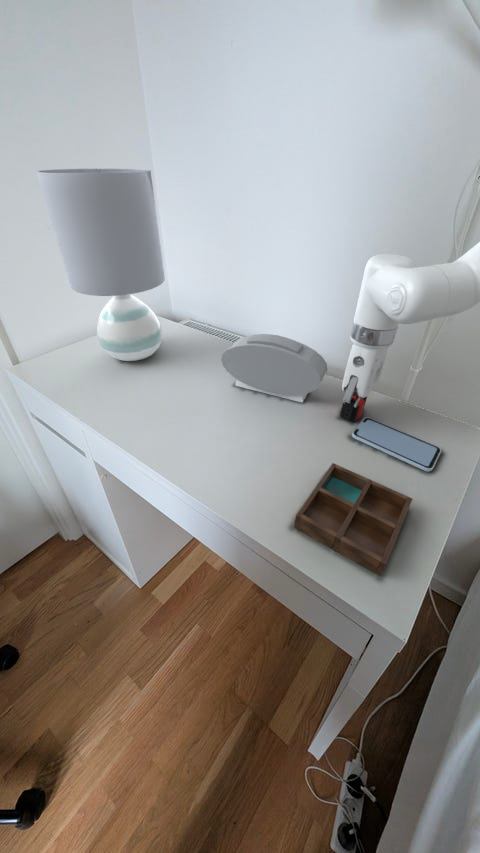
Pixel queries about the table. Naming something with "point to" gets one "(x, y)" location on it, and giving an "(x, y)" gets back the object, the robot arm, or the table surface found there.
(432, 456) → the smartphone
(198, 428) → the table surface
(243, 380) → the alarm clock
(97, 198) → the lamp
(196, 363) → the table surface
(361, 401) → the red cylinder
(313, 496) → the grid
